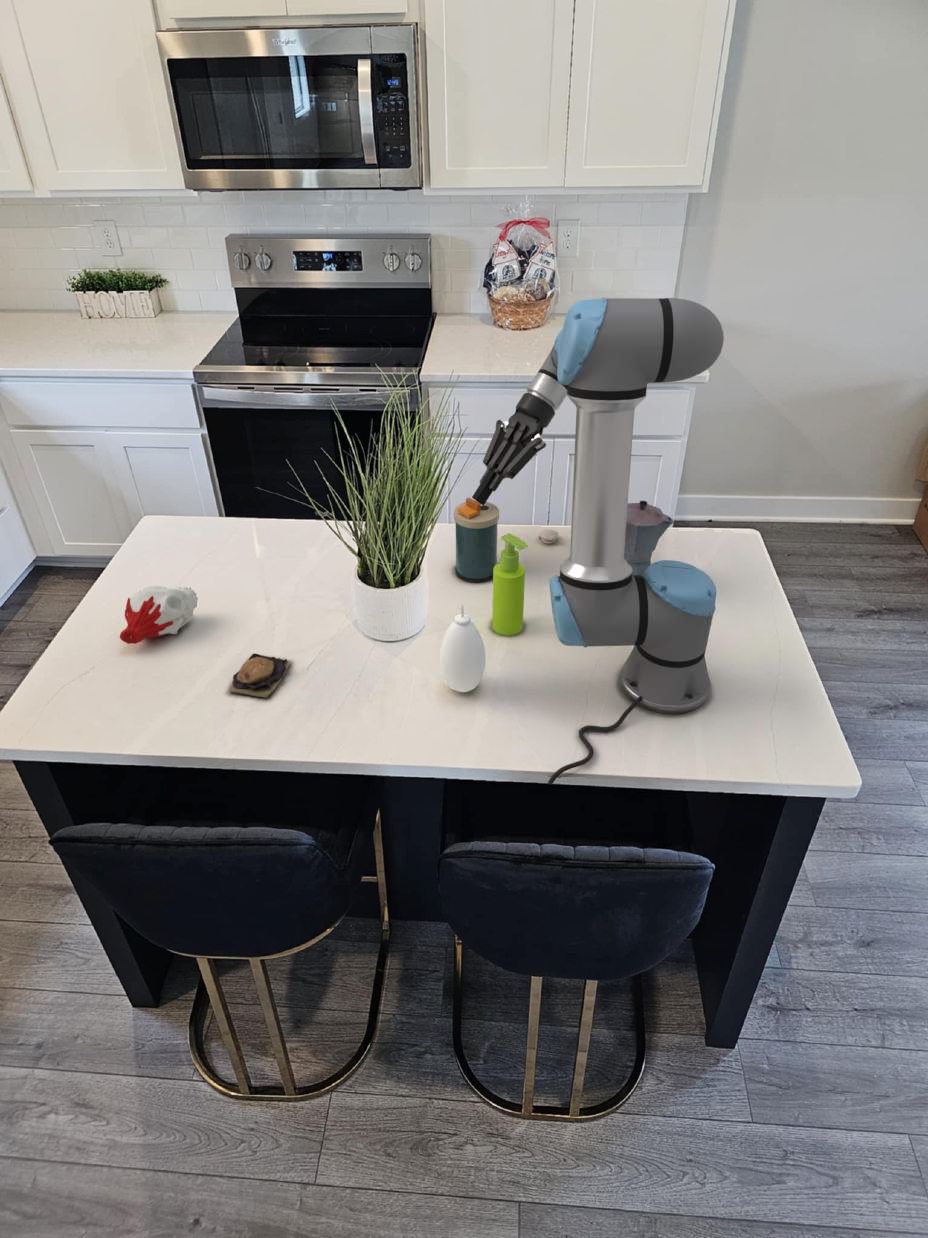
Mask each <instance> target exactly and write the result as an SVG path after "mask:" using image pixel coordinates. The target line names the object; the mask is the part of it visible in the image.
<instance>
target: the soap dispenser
mask: <svg viewBox="0 0 928 1238" xmlns="http://www.w3.org/2000/svg"><path fill="white" fill-rule="evenodd" d="M500 540H502V541H503V542H504V543H505V544H504V549H502V550H501V551H500V555H499V557H500V558H499V559H500V560H499V563H497V565H495V566H494V568H493V579H492V615H491V616H492V621H491V622H492V623H491V624H492V625H491V629H492V630H493V631H494V632H495V633H496V634H498V635H501V636H508V637H509V636H515V635H517V634H519V633H521V632H522V631H523V629H524V608H525V607H524V605H525V583H526V581H525V580H526V579H525V578H526V568H525V566H524V565H523V564H521V563H520V553H519V551H522V550H525V549H527V548H529V545H528V543H526V542H525V541H524V540H522V539H521V538H520V537H518V536H517V535H514V534H512V533H506V534H503V535H501V537H500ZM515 548H516V549H515Z"/></svg>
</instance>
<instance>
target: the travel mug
mask: <svg viewBox="0 0 928 1238" xmlns="http://www.w3.org/2000/svg"><path fill="white" fill-rule="evenodd" d="M475 501H476V500H475ZM476 502H477V501H476ZM465 505H466V501H464V502H462V503H459V504H458V505H456V506H455V508H454V510H453V519H454V520H453V521H454V522H455V567H454V570H455V571H454V573H455V576H456V577H457V578H459V579H460V580H462V581H464V582H467V583H471V584H472V583H473V584H480V583H486V582H489V581H491V580H493V568H494V566H495V565H497V564H498V563H497V562H498V522H499V520H500V509H499V507H498V506H497V505H495V504H494V503H491V502H490V501H489V502H488V501H486V503H485V504H484V505H482V504H480V514H478V515H476V516H474V517H471V518H468V517H466V516H464V515H462V514H460V513H459V512H458V508H460V507H463V506H465Z"/></svg>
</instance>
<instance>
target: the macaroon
mask: <svg viewBox="0 0 928 1238" xmlns="http://www.w3.org/2000/svg"><path fill="white" fill-rule="evenodd" d="M558 538H559V532H558V531H556V530H552V529H543V530H540V531H539V532H538V540H540V541H541V543H544V544H554V543H555V542H556V541H557V539H558Z"/></svg>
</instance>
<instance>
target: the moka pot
mask: <svg viewBox="0 0 928 1238" xmlns="http://www.w3.org/2000/svg"><path fill="white" fill-rule="evenodd" d="M673 524H675V521H674V519H673V517H670V516H669V515H667V514H665V513H663V511H662V510H661V508H660V507H658V506H654V505H651V504H648V501H647V500H640V501H639V502H628V507H627V521H626V534H625V548H624V559H625V560H626V561H627V562H628V563H629V564H630V565H631V567H632V575H644V574H645V571H646V569H647V568H648V566H649V565H650V564H652V556H653V552H654V551H655V550H656V549H657V546H658V544H659V540H660V538H661V537H662V536H663V535H664V533H665V532H666V531H667V530H668V528H670V526H671V525H673Z"/></svg>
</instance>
